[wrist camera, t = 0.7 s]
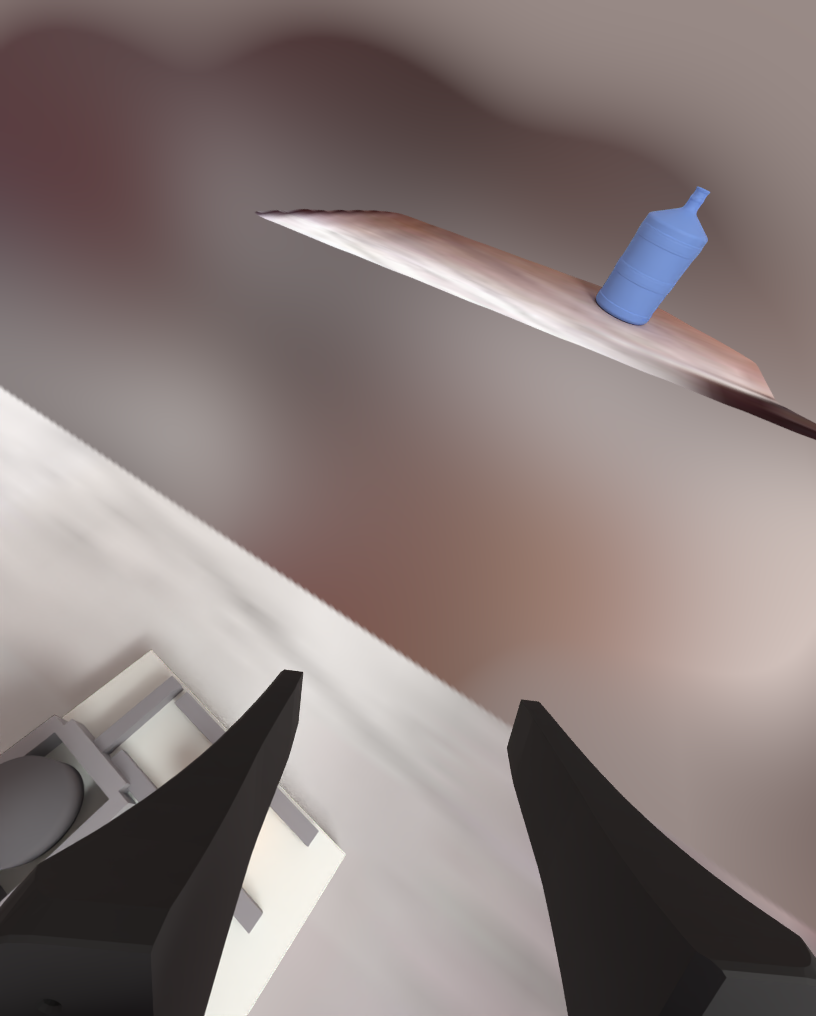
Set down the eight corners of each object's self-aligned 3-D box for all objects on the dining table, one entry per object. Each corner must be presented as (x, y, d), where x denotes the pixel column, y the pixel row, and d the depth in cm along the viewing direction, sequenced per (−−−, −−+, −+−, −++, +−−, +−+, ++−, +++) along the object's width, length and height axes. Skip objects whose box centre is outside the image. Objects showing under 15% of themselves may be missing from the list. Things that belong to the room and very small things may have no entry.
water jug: (627, 328, 100) (722, 198, 80) (583, 297, 107) (660, 169, 86) (654, 325, 109) (745, 207, 88) (611, 297, 115) (688, 180, 94)
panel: (157, 1150, 16) (135, 1216, 13) (-63, 827, 19) (-116, 828, 16) (342, 852, 23) (351, 857, 20) (156, 656, 26) (144, 638, 23)
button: (3, 893, 17) (-29, 902, 15) (-47, 823, 17) (-82, 823, 16) (102, 801, 19) (85, 798, 17) (55, 743, 20) (34, 735, 18)
